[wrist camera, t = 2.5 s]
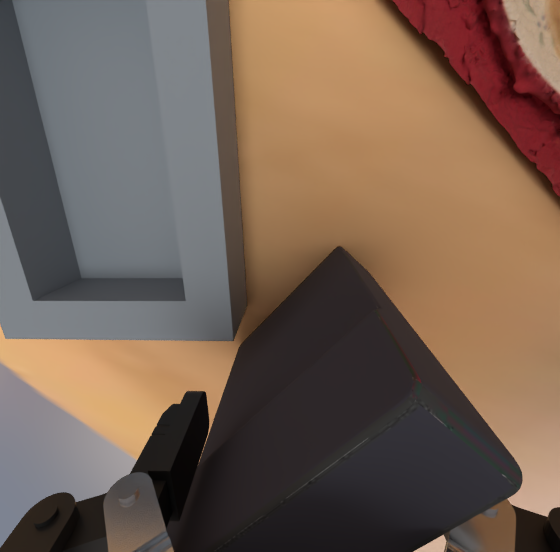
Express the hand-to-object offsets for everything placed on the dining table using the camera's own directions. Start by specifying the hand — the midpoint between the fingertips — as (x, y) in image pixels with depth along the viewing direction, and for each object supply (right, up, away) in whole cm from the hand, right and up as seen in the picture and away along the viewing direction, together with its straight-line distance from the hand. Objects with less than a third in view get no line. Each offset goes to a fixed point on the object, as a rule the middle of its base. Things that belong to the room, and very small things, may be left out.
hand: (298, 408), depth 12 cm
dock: (-10, +13, +6) cm, 18 cm away
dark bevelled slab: (+1, +3, +10) cm, 10 cm away
